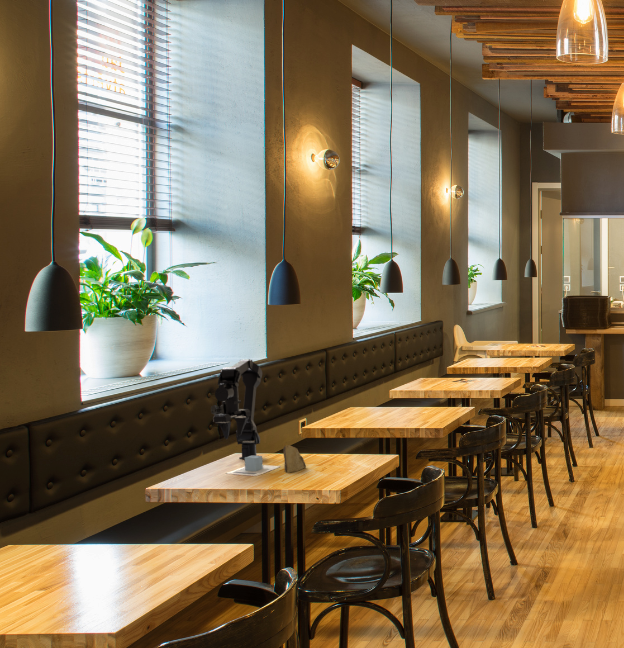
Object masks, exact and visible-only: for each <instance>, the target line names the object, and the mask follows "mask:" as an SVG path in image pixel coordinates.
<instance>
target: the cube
mask: <svg viewBox="0 0 624 648" xmlns="http://www.w3.org/2000/svg"><path fill="white" fill-rule="evenodd" d="M263 465H264V464H263V455H257V456H253V455H251V456H248V457H245V459H244V467H245V470H246V471H258V470H261V469H263Z"/></svg>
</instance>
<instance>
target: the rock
mask: <svg viewBox="0 0 624 648" xmlns="http://www.w3.org/2000/svg"><path fill="white" fill-rule="evenodd" d="M303 457H304V456H302V455H301V453H300V452H299V450H298V448H297V447H295V446H292V445H289V444H288V445H284V446H283V458H284V464H283V465H284V467H283V468H284V472H285V473H286V474H291V473H295V472H298V471H300V470H301V471H302V470H303V469H306V468H307V464H306V462H305V459H304V458H303Z"/></svg>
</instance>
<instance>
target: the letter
mask: <svg viewBox="0 0 624 648" xmlns="http://www.w3.org/2000/svg"><path fill="white" fill-rule="evenodd" d="M279 468H282V466H280V465H278V466H277V465H269V464H263V469H261V470H258V471H246V470H245V466H243V467H239V468H236V469H234V470H231V471H228V472H225V474H227V475H238V476H239V475H240V476H252V477H253V476H254V477H257V476H260V475H262V474H265V473H268V472H271V471H275V470H277V469H279Z"/></svg>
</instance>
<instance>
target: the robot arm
mask: <svg viewBox="0 0 624 648" xmlns="http://www.w3.org/2000/svg"><path fill="white" fill-rule="evenodd" d="M262 377H263V370H262V368H261V367H260V366H259V365H258V364H257V363H255V362H254V361H253V359H250V358H247V359H246V358H244V359H240V360H239V361H238V362H237V363H235V364H234V365H232V366H225V367H222V369H221V370H220V373H219V376H218V379H217V380H218V381H217V386H218V387H217V389H215V392H214V398H215V399H216V401H219V402H221V405H219V406H218V405H217V404H214V405H211V406H210V414H211V415H213V417H212V420H213V421H212V422H214V423H215V424H217V425H218V426H219V427H220V429H221V431H222V434H223V437H224V439H226V440H228V439H229V435H230V430H231V425H232V421H231V420H232V419H234V421H235V422H236V428H237V429H236V431H235V432H236V433H235V435H236V436H235V438H236V442H237V445H241V456H240V457H239V458H238V459H241V460H245V457H248V456H251V455H253V456H258V455H257V445H259V444H260V443H261V437H260V435H259V433H258V430H257V429H258V428H257V426H256V423H255V421H254V419H255V417H254V416H255V407H256V398H257V397H256V395H257V388H258V387H259V386H260V384H261V381H262V379H263V378H262ZM241 378H242V379H241ZM240 380H241V381H242V383H243V384H244V399H243V408H240V404H241V403H242V401H241V399H240V400H239V386H240V384H239V383H240Z"/></svg>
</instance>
